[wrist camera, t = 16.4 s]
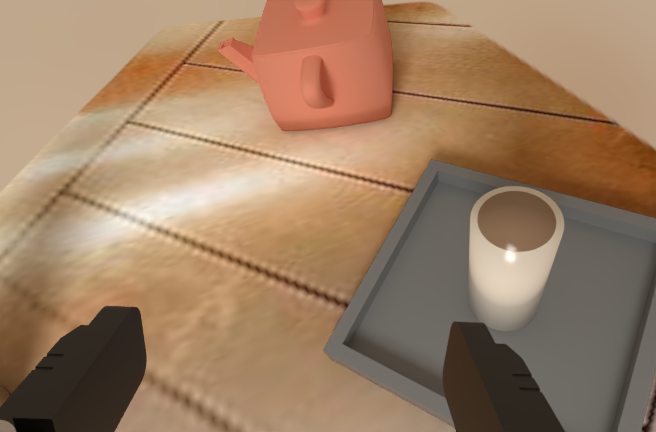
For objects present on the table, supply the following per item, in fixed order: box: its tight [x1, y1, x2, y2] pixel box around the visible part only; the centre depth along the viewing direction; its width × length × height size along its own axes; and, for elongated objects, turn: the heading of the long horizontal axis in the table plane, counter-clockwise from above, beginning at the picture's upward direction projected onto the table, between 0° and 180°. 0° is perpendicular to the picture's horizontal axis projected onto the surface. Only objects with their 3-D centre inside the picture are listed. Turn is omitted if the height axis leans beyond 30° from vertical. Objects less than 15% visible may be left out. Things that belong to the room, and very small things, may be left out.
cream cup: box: [468, 186, 564, 331], centre depth 33 cm, size 6×6×12 cm
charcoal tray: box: [323, 159, 656, 432], centre depth 37 cm, size 22×22×2 cm
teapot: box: [218, 0, 393, 131], centre depth 54 cm, size 20×22×14 cm
